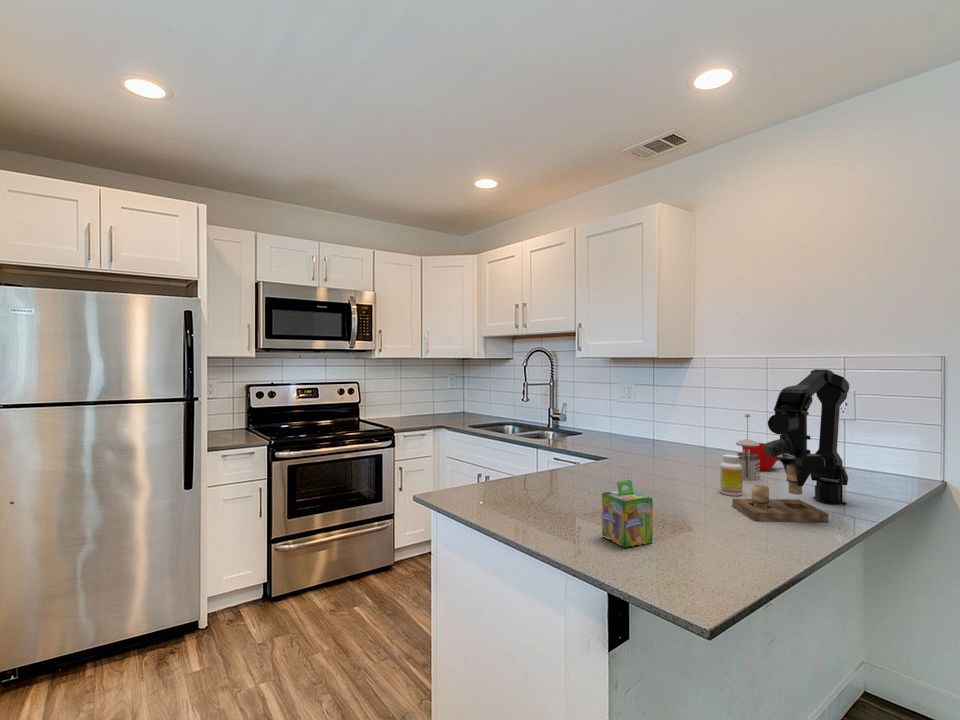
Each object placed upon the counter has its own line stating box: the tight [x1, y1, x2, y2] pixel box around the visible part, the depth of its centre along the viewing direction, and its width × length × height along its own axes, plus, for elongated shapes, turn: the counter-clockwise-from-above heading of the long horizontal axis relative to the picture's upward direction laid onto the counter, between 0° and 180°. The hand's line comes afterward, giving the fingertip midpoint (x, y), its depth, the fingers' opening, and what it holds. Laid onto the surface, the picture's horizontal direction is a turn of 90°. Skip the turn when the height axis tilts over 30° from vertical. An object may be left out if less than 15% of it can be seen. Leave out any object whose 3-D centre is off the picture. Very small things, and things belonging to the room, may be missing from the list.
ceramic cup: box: [741, 442, 780, 472], centre depth 206 cm, size 13×17×10 cm
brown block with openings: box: [731, 484, 830, 523], centre depth 146 cm, size 20×14×8 cm
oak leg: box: [785, 464, 803, 495], centre depth 146 cm, size 4×4×8 cm
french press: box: [735, 413, 763, 484], centre depth 187 cm, size 10×12×25 cm
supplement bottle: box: [719, 454, 743, 497], centre depth 169 cm, size 7×7×13 cm
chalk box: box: [601, 479, 654, 548], centre depth 126 cm, size 9×9×15 cm
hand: (795, 484), depth 146 cm, fingers closed on oak leg, 4 cm apart
